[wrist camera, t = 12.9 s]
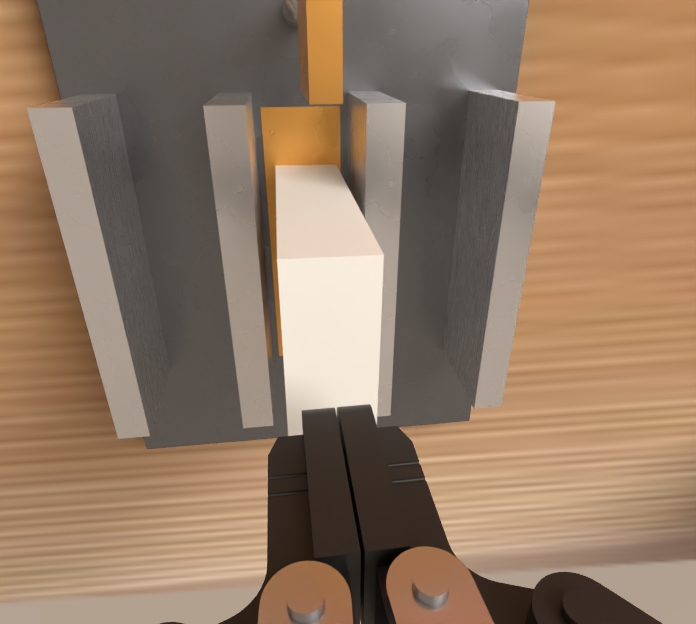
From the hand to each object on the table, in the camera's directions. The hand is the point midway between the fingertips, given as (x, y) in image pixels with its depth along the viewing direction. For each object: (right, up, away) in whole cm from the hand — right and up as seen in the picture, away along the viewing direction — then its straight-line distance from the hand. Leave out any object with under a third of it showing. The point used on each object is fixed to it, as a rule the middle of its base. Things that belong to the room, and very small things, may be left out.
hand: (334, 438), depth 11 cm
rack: (-2, +6, +12) cm, 14 cm away
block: (-1, +6, +11) cm, 12 cm away
